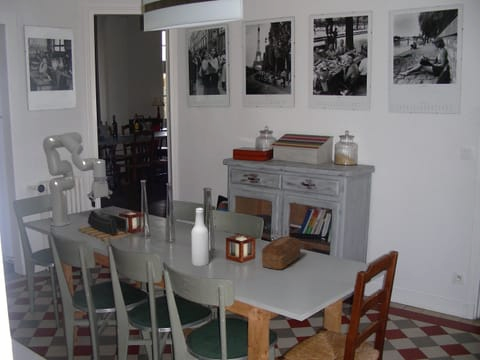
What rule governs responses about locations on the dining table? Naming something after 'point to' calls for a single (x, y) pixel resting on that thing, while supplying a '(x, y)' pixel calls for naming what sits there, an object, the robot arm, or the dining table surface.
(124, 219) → the shelf wall
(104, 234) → the shelf board
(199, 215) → the alcohol
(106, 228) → the magazine
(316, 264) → the dining table surface
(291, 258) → the bread
